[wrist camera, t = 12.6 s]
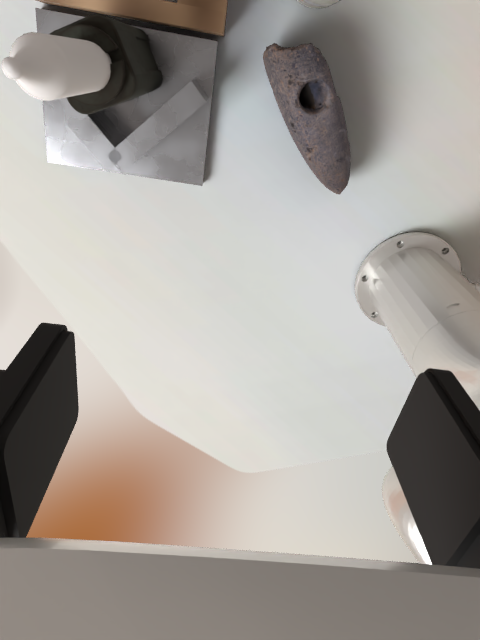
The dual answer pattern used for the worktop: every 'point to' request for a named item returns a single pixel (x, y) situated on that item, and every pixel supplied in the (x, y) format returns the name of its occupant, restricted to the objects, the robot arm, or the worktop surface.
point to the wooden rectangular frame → (160, 12)
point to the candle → (85, 64)
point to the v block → (141, 115)
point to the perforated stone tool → (311, 110)
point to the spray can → (317, 3)
